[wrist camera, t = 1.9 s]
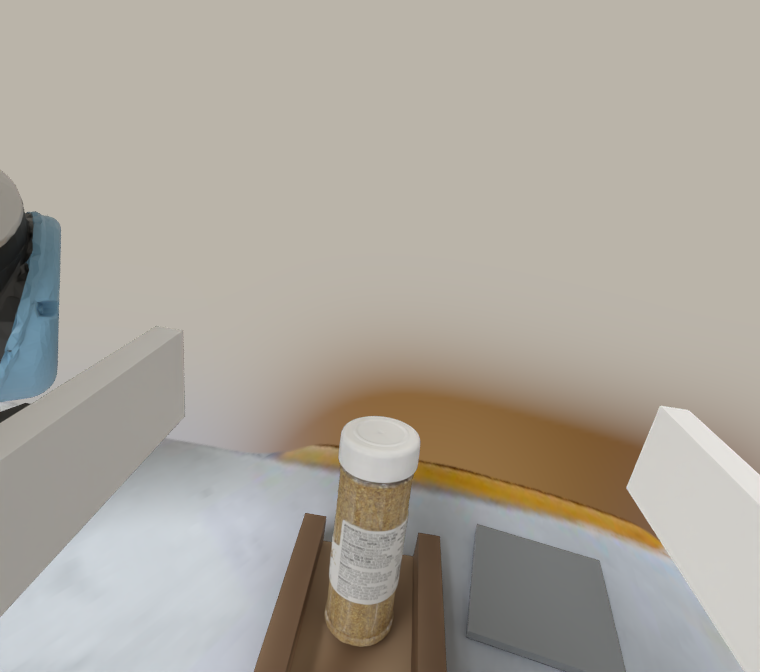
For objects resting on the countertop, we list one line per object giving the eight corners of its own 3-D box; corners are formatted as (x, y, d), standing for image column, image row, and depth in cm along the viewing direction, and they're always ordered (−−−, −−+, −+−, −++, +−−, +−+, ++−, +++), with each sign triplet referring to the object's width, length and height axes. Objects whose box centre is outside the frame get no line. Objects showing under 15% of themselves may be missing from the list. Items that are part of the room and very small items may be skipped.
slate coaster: (466, 637, 30) (468, 630, 30) (475, 529, 39) (477, 524, 39) (626, 692, 28) (629, 686, 28) (597, 565, 38) (599, 560, 37)
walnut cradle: (248, 719, 24) (249, 683, 23) (302, 542, 35) (305, 512, 34) (438, 754, 24) (449, 719, 23) (432, 565, 35) (439, 536, 34)
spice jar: (340, 581, 32) (358, 406, 29) (402, 604, 31) (429, 424, 27) (310, 634, 28) (327, 438, 24) (381, 663, 27) (410, 460, 23)
